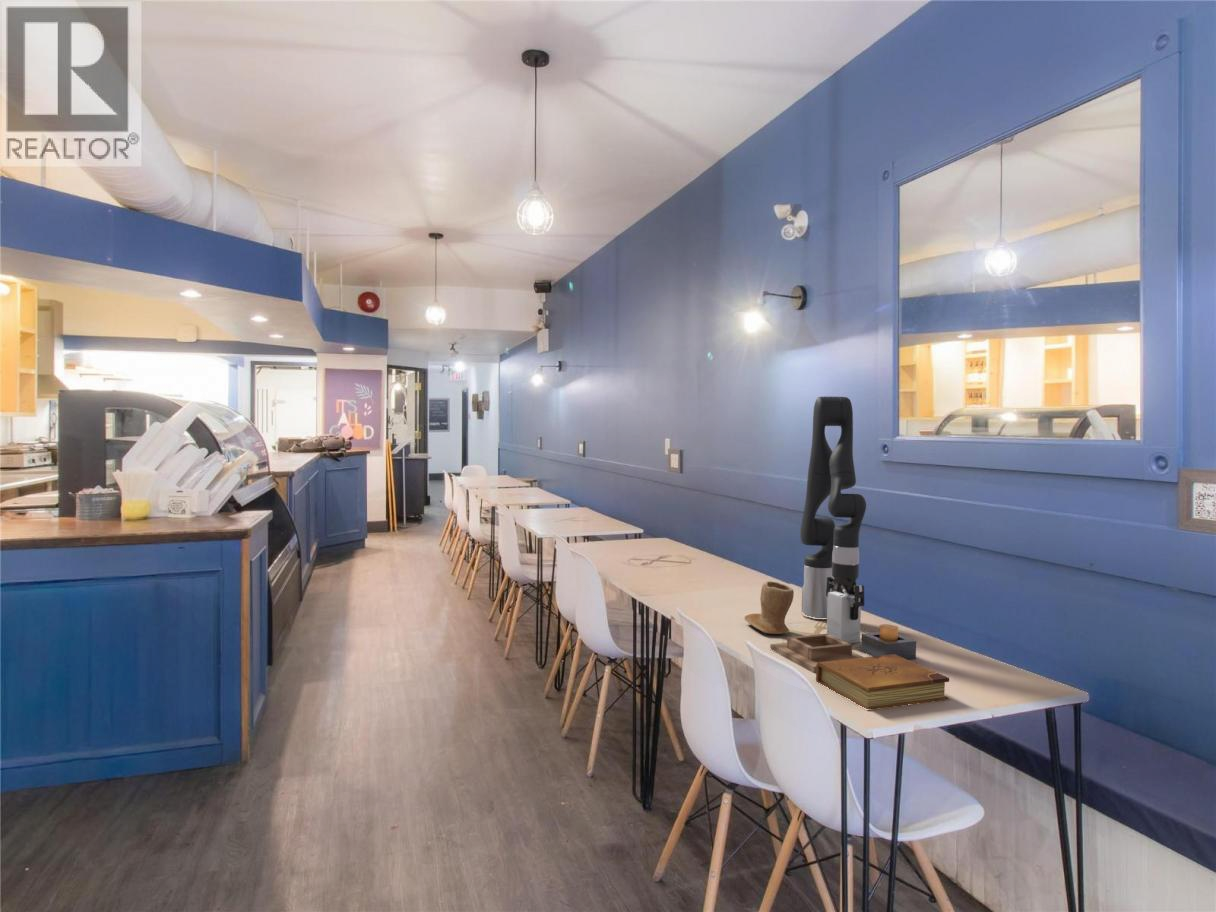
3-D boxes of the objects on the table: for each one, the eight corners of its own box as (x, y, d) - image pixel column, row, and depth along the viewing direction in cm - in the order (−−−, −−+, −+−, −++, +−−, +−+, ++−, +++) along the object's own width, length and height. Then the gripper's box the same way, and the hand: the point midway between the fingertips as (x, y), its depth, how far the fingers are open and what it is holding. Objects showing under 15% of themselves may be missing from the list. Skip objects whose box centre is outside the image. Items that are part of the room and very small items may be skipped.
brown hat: (799, 636, 210) (800, 587, 209) (762, 637, 207) (763, 588, 207) (777, 622, 225) (778, 576, 224) (742, 624, 222) (744, 577, 222)
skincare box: (845, 637, 209) (846, 588, 209) (861, 642, 204) (862, 592, 204) (825, 641, 205) (826, 591, 205) (841, 646, 200) (842, 595, 199)
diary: (891, 675, 179) (892, 653, 178) (948, 702, 161) (949, 677, 161) (815, 683, 171) (816, 660, 171) (866, 712, 153) (867, 686, 153)
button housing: (861, 651, 196) (861, 633, 196) (889, 648, 199) (890, 631, 199) (886, 662, 186) (886, 644, 186) (915, 659, 190) (916, 641, 190)
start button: (875, 639, 194) (875, 625, 194) (889, 637, 196) (889, 623, 196) (887, 644, 190) (888, 629, 189) (901, 642, 191) (902, 628, 191)
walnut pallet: (770, 649, 196) (770, 633, 196) (823, 643, 202) (823, 628, 202) (813, 672, 177) (814, 655, 177) (870, 665, 183) (871, 649, 183)
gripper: (819, 557, 209) (818, 611, 210) (851, 566, 196) (849, 623, 196) (840, 556, 212) (839, 609, 212) (872, 565, 198) (871, 621, 199)
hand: (844, 616), depth 204 cm, fingers open, 8 cm apart
